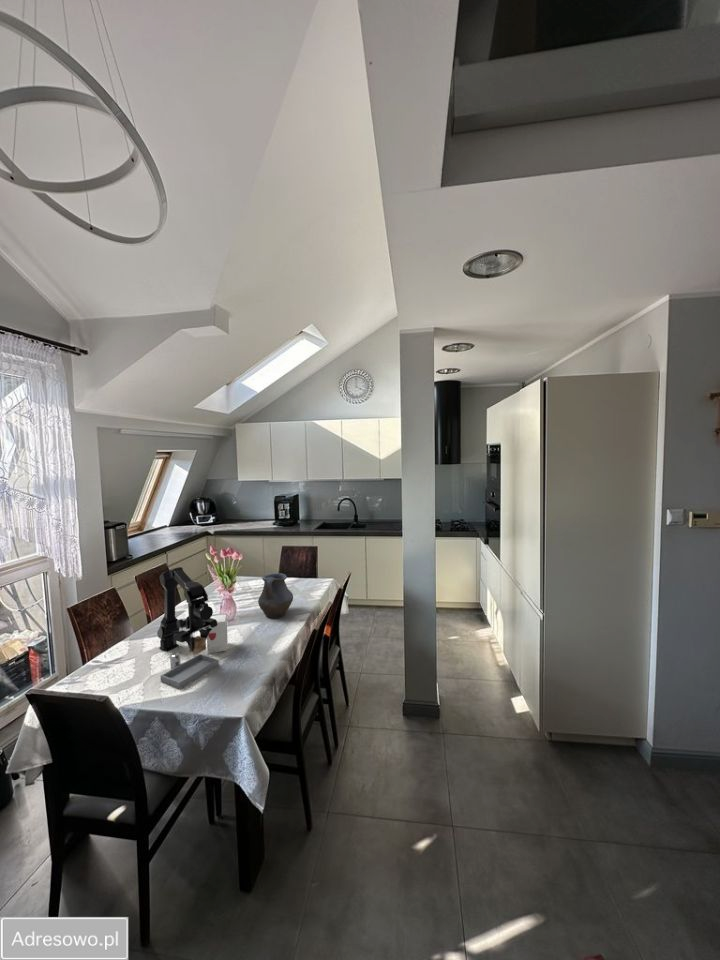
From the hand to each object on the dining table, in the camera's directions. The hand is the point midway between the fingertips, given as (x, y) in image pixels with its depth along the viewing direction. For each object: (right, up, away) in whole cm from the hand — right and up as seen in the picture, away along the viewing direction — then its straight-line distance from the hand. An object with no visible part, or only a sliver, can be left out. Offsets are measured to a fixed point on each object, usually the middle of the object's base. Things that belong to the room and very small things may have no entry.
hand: (197, 648), depth 172 cm
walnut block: (0, -1, 0) cm, 1 cm away
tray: (-2, -10, -3) cm, 10 cm away
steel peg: (-10, -10, +2) cm, 14 cm away
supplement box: (+2, -8, +19) cm, 21 cm away
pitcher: (+23, -6, +57) cm, 61 cm away
